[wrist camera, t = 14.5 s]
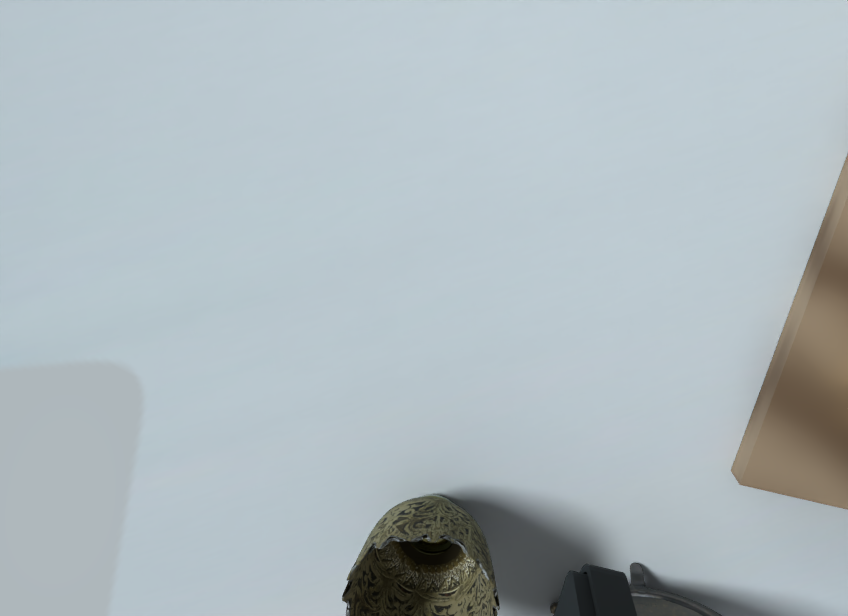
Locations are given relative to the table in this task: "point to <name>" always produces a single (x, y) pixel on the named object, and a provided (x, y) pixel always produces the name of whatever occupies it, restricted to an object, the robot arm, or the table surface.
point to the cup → (423, 564)
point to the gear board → (807, 381)
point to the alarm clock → (658, 600)
